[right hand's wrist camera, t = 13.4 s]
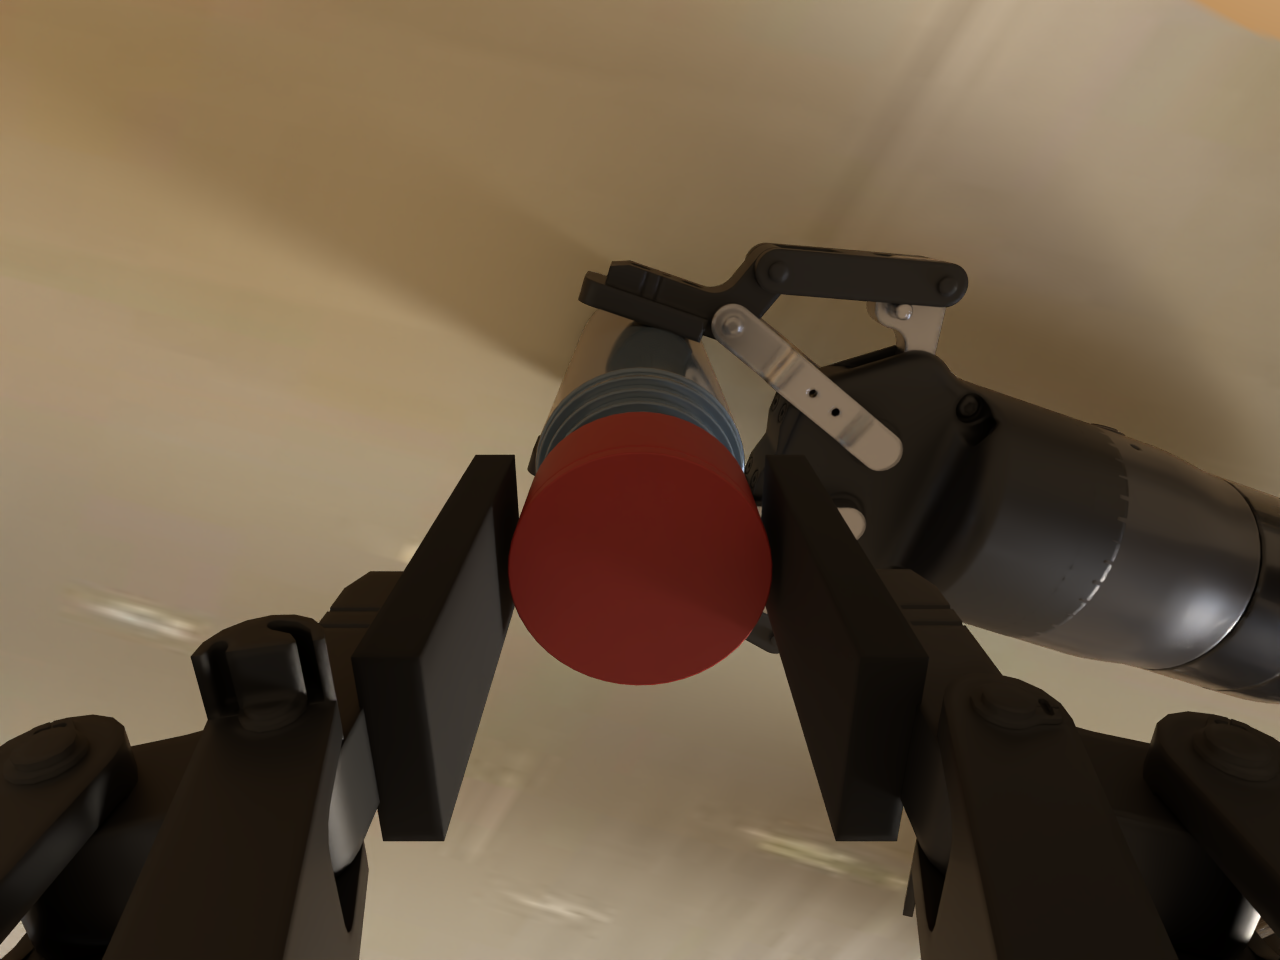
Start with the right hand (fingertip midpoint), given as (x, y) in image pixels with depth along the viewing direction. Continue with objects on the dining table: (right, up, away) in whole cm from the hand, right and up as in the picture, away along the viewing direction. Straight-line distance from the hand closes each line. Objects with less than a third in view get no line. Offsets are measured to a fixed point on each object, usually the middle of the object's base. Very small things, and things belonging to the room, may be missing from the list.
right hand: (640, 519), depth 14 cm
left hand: (-2, +4, +8) cm, 9 cm away
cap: (0, -1, -2) cm, 2 cm away
